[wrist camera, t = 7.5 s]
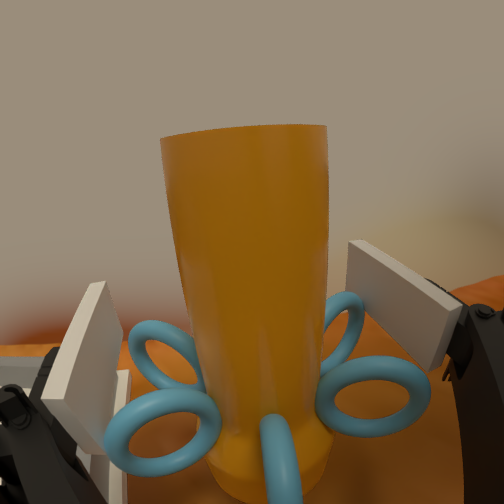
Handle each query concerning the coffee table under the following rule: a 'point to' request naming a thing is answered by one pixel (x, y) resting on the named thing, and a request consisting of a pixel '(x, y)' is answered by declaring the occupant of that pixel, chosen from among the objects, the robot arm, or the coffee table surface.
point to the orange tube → (256, 319)
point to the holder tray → (97, 466)
